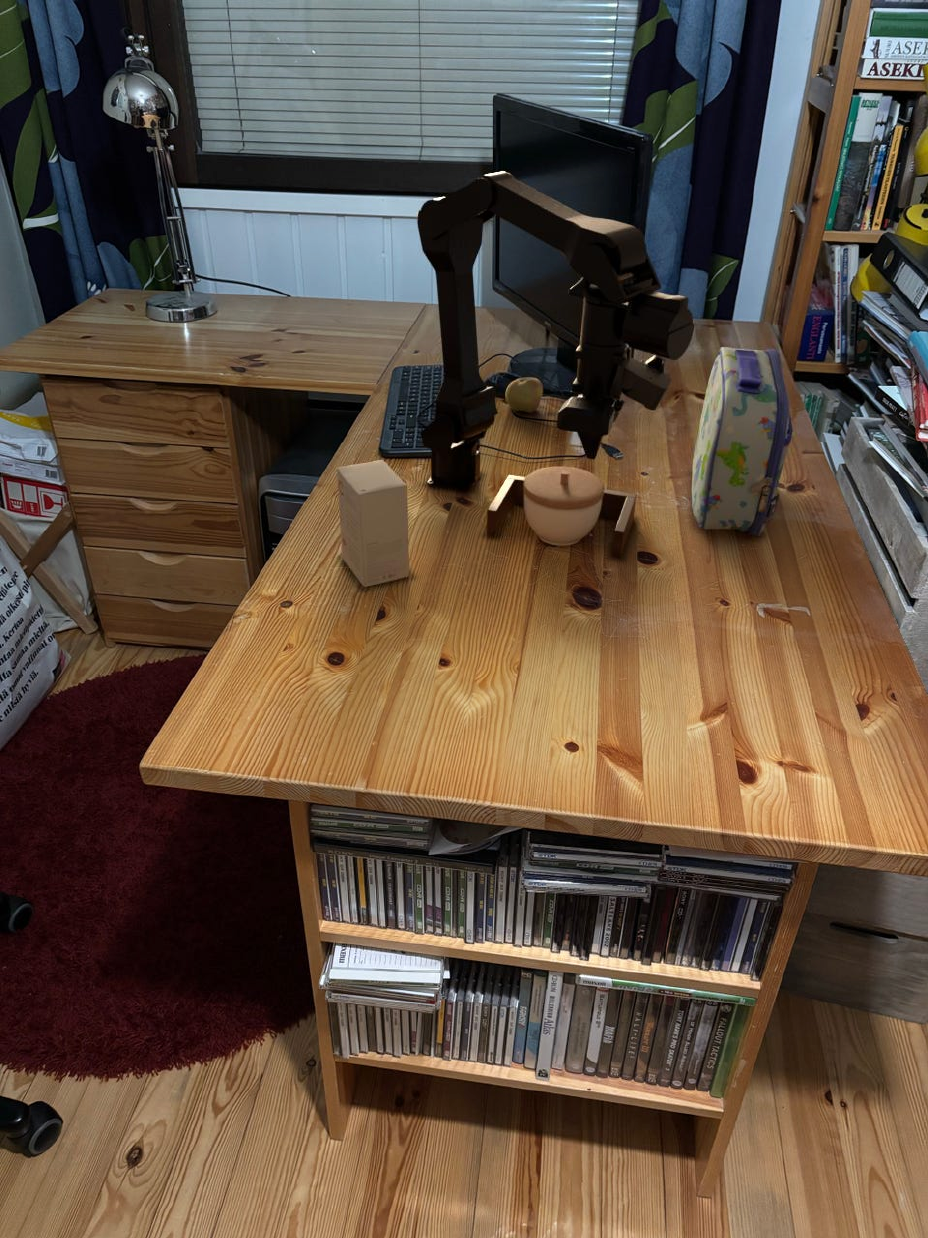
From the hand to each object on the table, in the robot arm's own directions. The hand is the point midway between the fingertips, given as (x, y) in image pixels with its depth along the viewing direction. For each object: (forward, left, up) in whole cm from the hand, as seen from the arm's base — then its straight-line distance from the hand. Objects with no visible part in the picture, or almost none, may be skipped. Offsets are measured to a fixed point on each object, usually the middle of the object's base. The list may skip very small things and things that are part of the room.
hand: (591, 457), depth 121 cm
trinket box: (-3, -1, -12) cm, 12 cm away
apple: (-18, +40, -12) cm, 45 cm away
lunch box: (+18, +16, -12) cm, 27 cm away
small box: (-24, -17, -12) cm, 32 cm away
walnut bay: (-3, +1, -12) cm, 12 cm away
